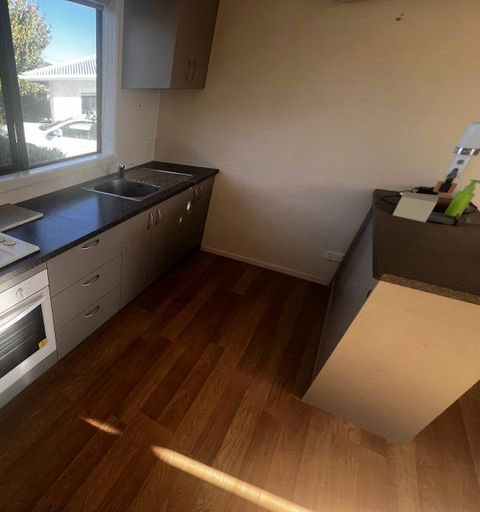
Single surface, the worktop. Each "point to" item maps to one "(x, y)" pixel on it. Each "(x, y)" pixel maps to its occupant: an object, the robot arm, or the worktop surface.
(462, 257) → the worktop surface
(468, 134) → the robot arm
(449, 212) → the soap dispenser
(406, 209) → the cream box
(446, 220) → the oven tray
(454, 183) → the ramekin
